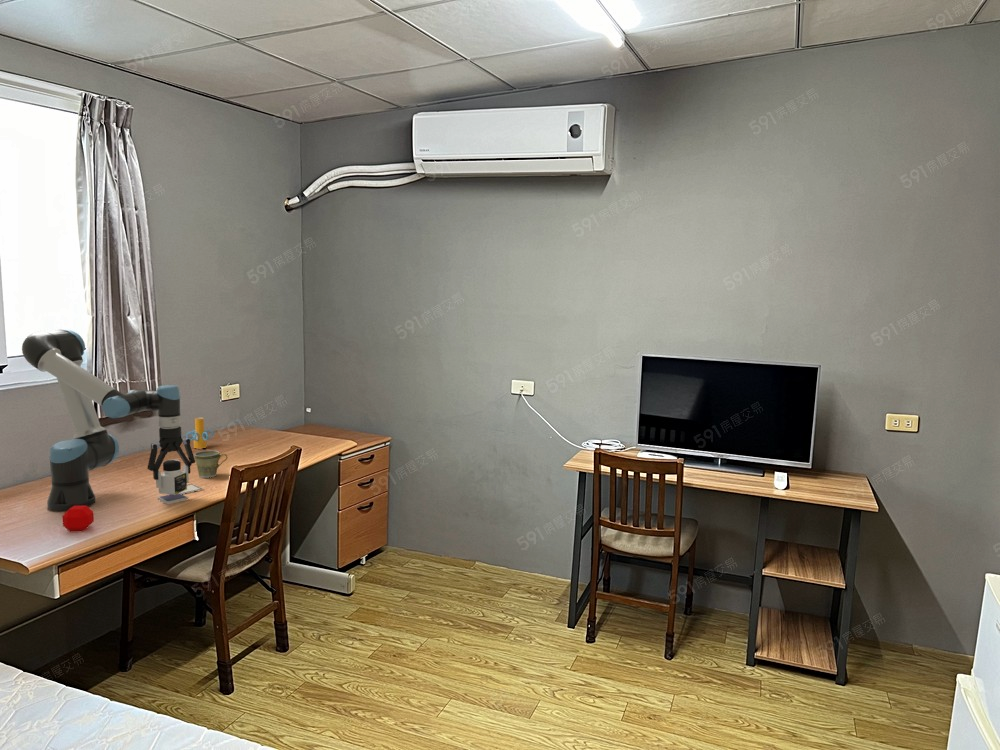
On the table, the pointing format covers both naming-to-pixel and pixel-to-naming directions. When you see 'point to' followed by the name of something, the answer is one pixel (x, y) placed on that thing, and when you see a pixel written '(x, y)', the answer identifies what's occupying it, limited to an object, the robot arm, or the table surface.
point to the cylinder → (199, 434)
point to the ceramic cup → (208, 463)
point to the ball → (78, 518)
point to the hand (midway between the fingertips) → (172, 484)
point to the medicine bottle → (173, 478)
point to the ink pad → (172, 498)
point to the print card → (191, 489)
